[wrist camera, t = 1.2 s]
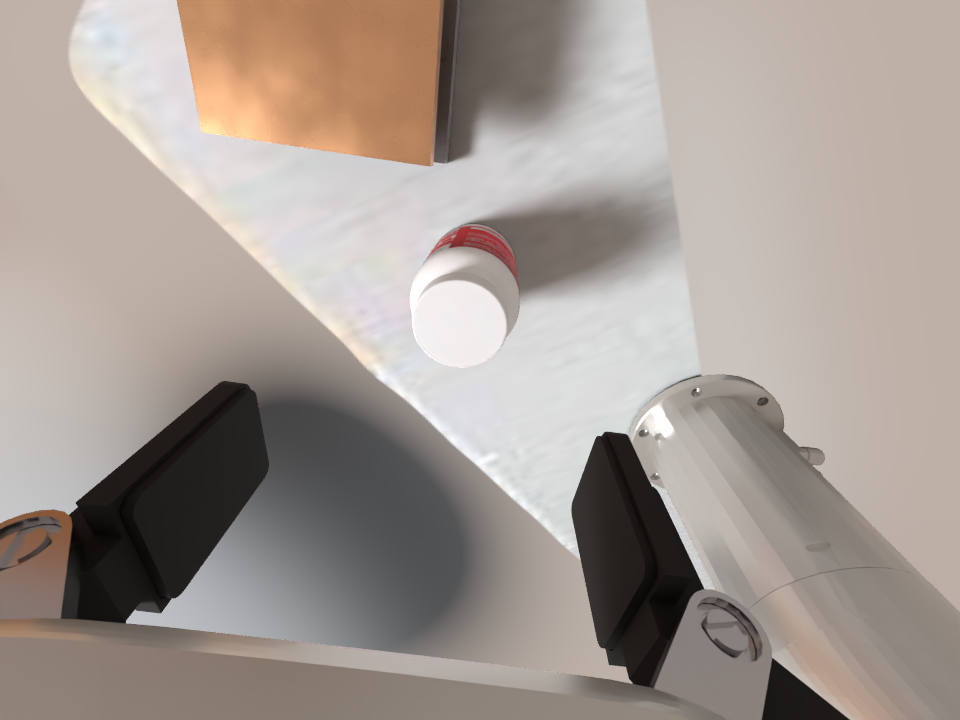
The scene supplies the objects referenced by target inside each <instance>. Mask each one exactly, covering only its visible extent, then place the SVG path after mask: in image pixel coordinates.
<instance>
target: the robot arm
mask: <svg viewBox="0 0 960 720" xmlns="http://www.w3.org/2000/svg"><path fill="white" fill-rule="evenodd" d="M783 428H784V418H783V413H782V410H781V408H780V405H779V404H778V402H777V401H776V400H775V398H774V397H773V396H772V395H771V394H770V393H768V392H767V391H766V390H765V389H764V388H763V387H761V386H760V385H758V384H756V383H755V382H753V381H751V380H748V379H745V378H742V377H739V376H731V375H707V376H701V377H696V378H692V379H689V380H686V381H683V382H680V383H678V384H676V385H674V386H672V387H670V388H668V389H666V390H664V391H663V392H661V393H660V394H658V395H657V396H655V397H654V398H653V399H652V400H651V401H649V402H648V403H647V404H646V405H645V406H644V407H643V408H642V410H641V411H640V412H639V414H638V415H637V416H636V418H635V420H634V422H633V424H632V426H631V428H630V433H629V437H628V435H626V434H621V433H613V432H605V433H604V434H603V435H602V436H597V437H596V439H595V441H594V444H593V447H592V450H591V452H590V455H589V458H588V461H587V463H586V466H585V469H584V472H583V474H582V477H581V480H580V483H579V485H578V488H577V491H576V494H575V496H574V499H573V502H572V519H573V523H574V528H575V533H576V538H577V543H578V548H579V553H580V558H581V563H582V568H583V573H584V577H585V582H586V587H587V592H588V597H589V602H590V607H591V612H592V617H593V621H594V627H595V632H596V637H597V641H598V644H599V646H600V647H601V648H605V649H606V653H607V657H608V662H609V665H615V666H624V667H626V668H627V672H628V676H629V679H630V680H631V681H632V682H633V683H632V684H629V683H624V682H619V681H614V680H609V679H602V678H594V677H587V676H580V675H573V674H566V673H558V672H551V671H544V670H537V669H528V668H520V667H512V666H504V665H495V664H486V663H479V662H470V661H461V660H453V659H445V658H437V657H428V656H420V655H411V654H402V653H394V652H385V651H376V650H367V649H359V648H350V647H341V646H332V645H324V644H315V643H306V642H297V641H288V640H279V639H270V638H260V637H251V636H243V635H233V634H224V633H215V632H205V631H196V630H186V629H178V628H169V627H159V626H148V625H137V624H126V620H127V618H128V617H129V616H130V615H131V614H132V612H133V611H134V610H135V609H136V610H137V611H145V612H154V613H162V611H163V610H164V608H165V607H166V606H167V604H168V603H169V602H170V600H171V598H176V597H178V596H179V595H180V594H181V593H182V592H183V591H184V590H185V588H186V587H187V586H188V584H189V583H190V581H191V580H192V579H193V577H194V576H195V574H196V573H197V572H198V570H199V569H200V567H201V566H202V565H203V563H204V561H205V560H206V559H207V557H208V556H209V555H210V553H211V552H212V550H213V549H214V548H215V546H216V545H217V544H218V542H219V541H220V539H221V538H222V536H223V535H224V533H225V532H226V531H227V530H228V528H229V527H230V525H231V524H232V522H233V521H234V520H235V518H236V517H237V516H238V514H239V513H240V511H241V510H242V508H243V507H244V506H245V504H246V503H247V502H248V500H249V499H250V497H251V496H252V495H253V493H254V492H255V490H256V489H257V487H258V486H259V485H260V483H261V482H262V481H263V479H264V478H265V476H266V474H267V472H268V468H269V462H268V457H267V451H266V445H265V440H264V435H263V429H262V424H261V418H260V413H259V408H258V402H257V397H256V394H255V392H254V391H253V390H251V389H250V387H249V386H248V385H247V384H243V383H235V382H228V381H223V382H221V383H219V384H218V385H217V386H215V387H214V388H213V389H212V390H210V391H209V392H208V393H207V394H205V395H204V396H203V397H202V398H201V399H200V400H198V401H197V402H196V403H195V404H193V405H192V406H191V407H190V408H189V409H188V410H186V411H185V412H184V413H183V414H181V416H179V417H178V418H177V419H175V420H174V421H173V422H172V423H171V424H169V426H167V427H166V428H165V429H163V430H162V431H161V432H160V433H159V434H157V435H156V436H155V437H154V438H153V439H151V440H150V441H149V442H148V443H147V444H145V445H144V446H143V447H142V448H141V449H139V450H138V451H137V452H136V453H135V454H133V455H132V456H131V457H130V458H129V459H127V460H126V461H125V462H124V463H123V464H121V466H119V467H118V468H117V469H115V470H114V471H113V472H112V473H111V474H109V475H108V476H107V477H106V478H105V479H103V480H102V481H101V482H100V483H99V484H97V485H96V486H95V487H94V488H93V489H91V490H90V491H89V492H88V493H87V494H85V495H84V496H83V497H82V498H81V499H79V500H78V501H77V502H76V504H77V506H78V508H76V510H74V511H73V512H72V513H71V514H70V515H68V514H66V513H65V512H62V511H57V510H40V511H35V512H31V513H26V514H23V515H20V516H17V517H14V518H12V519H9V520H6V521H4V522H2V523H0V720H960V612H959V611H958V610H957V609H956V608H955V607H954V606H953V605H952V604H951V603H950V602H949V601H948V600H947V599H946V598H945V597H944V596H943V595H942V594H941V593H940V592H939V591H938V590H937V589H936V588H935V587H934V586H933V585H932V584H931V583H930V582H928V581H927V580H926V579H925V578H924V577H923V576H922V575H921V574H920V573H919V572H918V571H917V570H916V569H915V568H914V567H913V566H912V565H911V564H910V563H909V562H908V561H907V560H906V559H905V558H904V557H903V556H902V555H901V554H900V553H899V552H898V551H897V550H896V549H895V548H894V547H893V546H892V545H891V544H890V543H889V542H888V541H887V540H886V539H885V538H884V537H883V536H882V535H881V534H880V533H879V532H878V531H877V530H876V529H875V528H874V527H873V526H872V525H871V524H870V523H869V522H868V521H867V520H866V519H865V518H864V517H863V516H862V515H861V514H860V513H859V512H858V511H857V510H856V509H855V508H854V507H853V506H852V505H851V504H850V503H849V502H848V501H847V500H846V499H845V498H844V497H843V496H842V495H841V494H840V493H839V492H838V491H837V490H836V489H835V488H834V487H833V486H832V485H831V484H830V483H829V482H828V481H827V480H826V479H825V478H824V477H823V475H822V474H821V473H820V472H819V471H817V470H816V469H815V468H814V467H813V466H812V465H821V464H822V463H823V462H824V460H825V457H824V453H823V452H822V451H821V450H819V449H817V448H809V447H799V446H797V444H796V443H795V442H793V441H792V440H791V439H790V438H789V437H788V436H787V435H786V434H785V433H784V432H783ZM650 482H651V483H653V484H655V485H657V486H659V487H661V488H665V489H666V491H667V493H668V495H669V497H670V499H671V501H672V503H673V505H674V507H675V509H676V511H677V513H678V515H679V517H680V519H681V521H682V523H683V525H684V527H685V529H686V531H687V533H688V535H689V537H690V540H691V542H692V544H693V546H694V548H695V550H696V552H697V554H698V556H699V558H700V560H701V562H702V564H703V566H704V568H705V570H706V572H707V574H708V576H709V578H710V580H711V582H712V584H713V586H714V588H715V590H716V591H715V590H706V589H704V587H703V585H702V583H701V581H700V579H699V577H698V575H697V572H696V570H695V568H694V566H693V564H692V562H691V560H690V558H689V556H688V553H687V551H686V549H685V547H684V545H683V543H682V541H681V539H680V536H679V534H678V532H677V530H676V528H675V526H674V524H673V522H672V519H671V517H670V515H669V513H668V511H667V509H666V507H665V505H664V503H663V500H662V498H661V496H660V494H659V493H658V491H657V489H655V488H654V487H652V486H651V484H650Z"/></svg>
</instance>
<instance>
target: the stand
mask: <svg viewBox="0 0 960 720" xmlns="http://www.w3.org/2000/svg"><path fill="white" fill-rule="evenodd" d="M177 4H178V9H179V15H180V20H181V25H182V30H183V36H184V41H185V46H186V51H187V57H188V62H189V67H190V72H191V78H192V83H193V88H194V93H195V98H196V104H197V109H198V114H199V119H200V125H201V130H202V132H204V133H211V134H218V135H224V136H231V137H238V138H244V139H251V140H258V141H264V142H271V143H278V144H284V145H291V146H298V147H304V148H311V149H318V150H324V151H331V152H338V153H344V154H351V155H358V156H364V157H371V158H378V159H384V160H391V161H398V162H404V163H411V164H418V165H424V166H433V163H434V162H438V163H444V164H445V163H448V156H449V144H450V132H451V120H452V107H453V95H454V83H455V71H456V58H457V46H458V34H459V21H460V9H461V0H177Z"/></svg>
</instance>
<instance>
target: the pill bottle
mask: <svg viewBox="0 0 960 720" xmlns="http://www.w3.org/2000/svg"><path fill="white" fill-rule="evenodd" d="M410 308H411V313H412V327H413V332H414V335H415V338H416V340H417V342H418V344H419V345H420V347H421V348H422V349H423V350H424V352H425V353H426V354H428V355H429V356H430V357H431V358H433V359H434V360H436V361H437V362H439V363H441V364H444V365H447V366H451V367H456V368H467V367H473V366H477V365H480V364H482V363H484V362H486V361H488V360H489V359H491V358H492V357H493V356H494V355H495V354H496V353H497V352H498V351H499V350H500V348H501V347H502V345H503V343H504V341H505V338H506V337H507V336H508V334H509V333H510V332H511V330H512V329H513V327H514V325H515V323H516V321H517V318H518V314H519V308H520V293H519V284H518V277H517V269H516V261H515V257H514V254H513V251H512V249H511V247H510V245H509V243H508V242H507V241H506V239H505V238H504V237H503V236H502V235H501V234H499V233H498V232H497V231H495V230H493V229H492V228H490V227H487V226H484V225H479V224H466V225H462V226H458V227H456V228H454V229H452V230H450V231H449V232H447V233H446V234H445V235H444V236H443V237H442V238H441V239H440V240H439V241H438V243H437V244H436V246H435V247H434V248H433V250H432V251H431V253H430V254H429V256H428V257H427V259H426V260H425V261H424V263H423V265H422V266H421V267H420V269H419V271H418V272H417V274H416V276H415V278H414V281H413V284H412V287H411V292H410Z"/></svg>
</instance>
